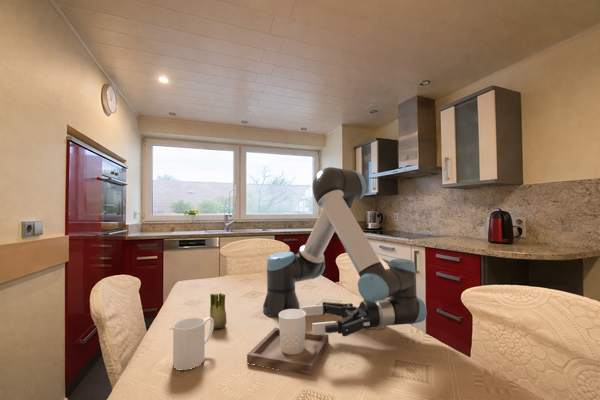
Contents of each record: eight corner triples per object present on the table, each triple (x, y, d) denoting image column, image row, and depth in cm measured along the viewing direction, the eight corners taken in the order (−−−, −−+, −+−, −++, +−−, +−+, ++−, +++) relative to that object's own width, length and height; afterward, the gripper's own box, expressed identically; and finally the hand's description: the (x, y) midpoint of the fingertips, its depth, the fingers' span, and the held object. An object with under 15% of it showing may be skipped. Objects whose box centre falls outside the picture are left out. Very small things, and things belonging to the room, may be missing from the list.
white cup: (278, 343, 80) (278, 309, 81) (304, 341, 81) (304, 308, 82) (279, 357, 73) (278, 319, 73) (308, 355, 73) (307, 317, 74)
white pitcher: (185, 374, 67) (186, 331, 68) (166, 366, 71) (167, 325, 72) (222, 352, 77) (222, 315, 78) (203, 346, 81) (203, 311, 82)
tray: (247, 364, 71) (247, 354, 71) (275, 335, 88) (274, 327, 88) (312, 376, 65) (311, 365, 66) (328, 342, 82) (328, 334, 83)
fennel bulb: (208, 327, 96) (208, 293, 96) (220, 323, 99) (220, 290, 100) (216, 332, 92) (216, 296, 92) (229, 327, 95) (229, 293, 96)
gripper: (397, 345, 69) (318, 354, 65) (359, 311, 94) (299, 316, 90) (396, 315, 70) (317, 322, 66) (358, 289, 94) (299, 294, 90)
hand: (307, 319), depth 78 cm, fingers open, 13 cm apart
